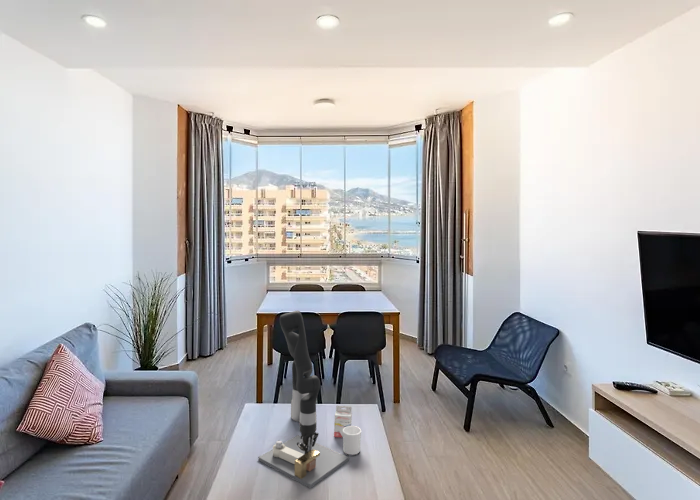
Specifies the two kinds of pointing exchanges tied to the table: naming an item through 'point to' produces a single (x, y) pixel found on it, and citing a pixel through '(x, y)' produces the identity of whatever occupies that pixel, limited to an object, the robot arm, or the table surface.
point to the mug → (351, 440)
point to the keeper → (304, 462)
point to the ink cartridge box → (342, 420)
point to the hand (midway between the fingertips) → (307, 457)
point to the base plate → (324, 467)
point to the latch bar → (290, 455)
